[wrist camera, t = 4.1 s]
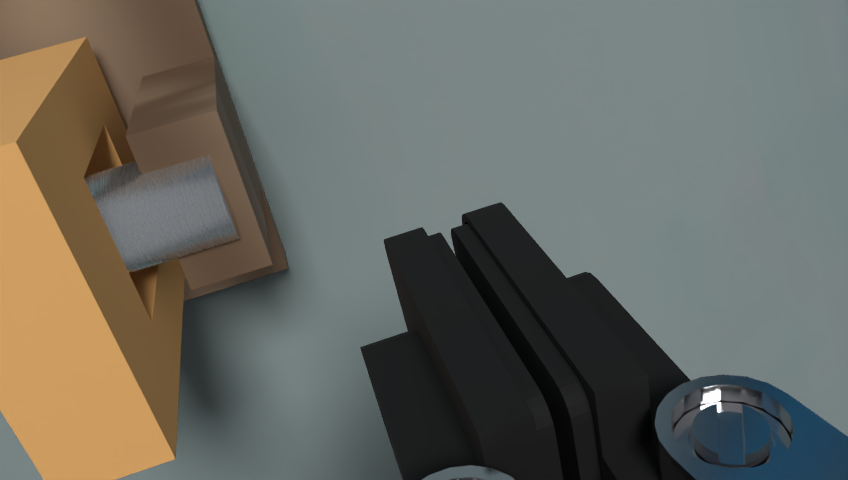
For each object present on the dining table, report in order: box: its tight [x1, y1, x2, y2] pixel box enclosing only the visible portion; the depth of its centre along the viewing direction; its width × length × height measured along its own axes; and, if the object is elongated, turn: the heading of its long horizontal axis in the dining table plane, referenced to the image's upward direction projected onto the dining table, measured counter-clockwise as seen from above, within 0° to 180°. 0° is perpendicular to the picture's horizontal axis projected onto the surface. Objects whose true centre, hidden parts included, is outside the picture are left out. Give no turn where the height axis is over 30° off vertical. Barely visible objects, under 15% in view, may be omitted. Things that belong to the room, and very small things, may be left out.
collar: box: [0, 37, 185, 480], centre depth 18 cm, size 2×7×8 cm, turn 12°
